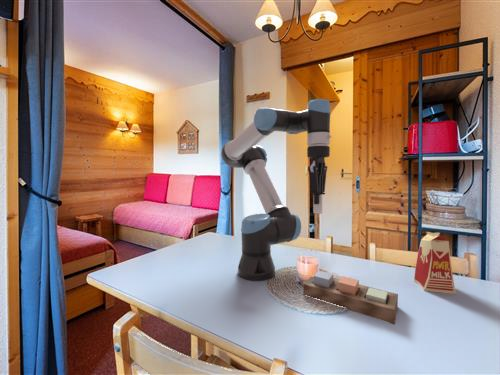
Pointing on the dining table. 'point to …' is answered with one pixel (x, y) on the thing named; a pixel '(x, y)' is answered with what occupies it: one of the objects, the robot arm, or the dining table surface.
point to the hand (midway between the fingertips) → (317, 212)
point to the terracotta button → (348, 285)
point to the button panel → (354, 300)
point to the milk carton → (434, 265)
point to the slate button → (323, 279)
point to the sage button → (377, 295)
